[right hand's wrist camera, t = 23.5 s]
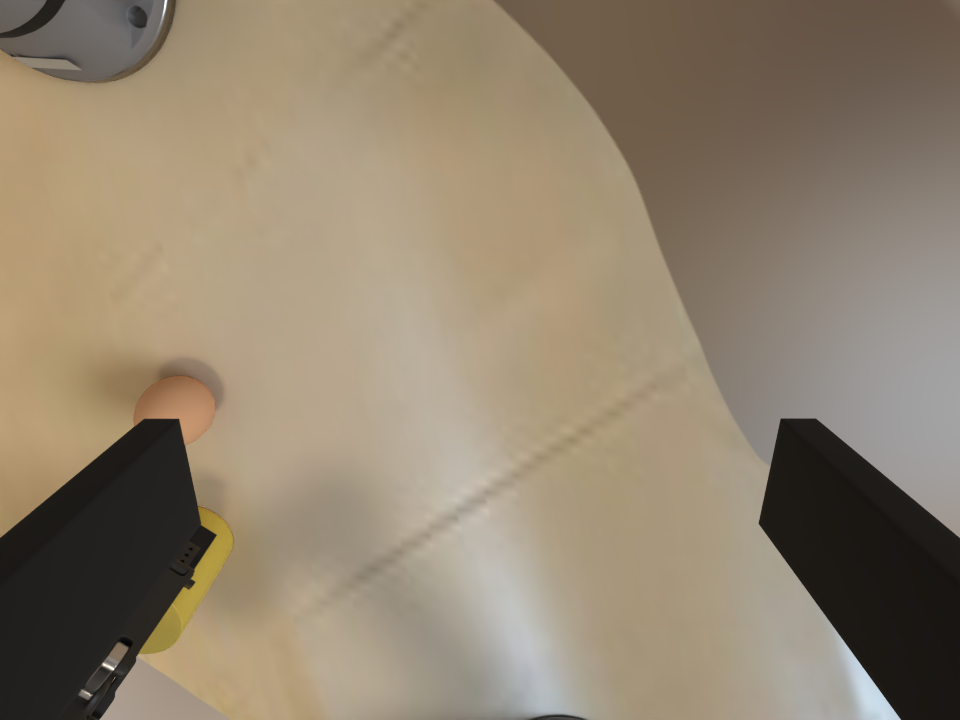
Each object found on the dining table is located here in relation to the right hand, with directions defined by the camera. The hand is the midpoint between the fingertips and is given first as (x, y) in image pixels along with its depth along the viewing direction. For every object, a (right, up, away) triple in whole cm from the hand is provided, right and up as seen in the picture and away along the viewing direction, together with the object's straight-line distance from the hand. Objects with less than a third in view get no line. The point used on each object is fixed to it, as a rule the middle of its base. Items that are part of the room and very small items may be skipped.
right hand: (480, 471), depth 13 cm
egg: (-27, -1, +41) cm, 49 cm away
